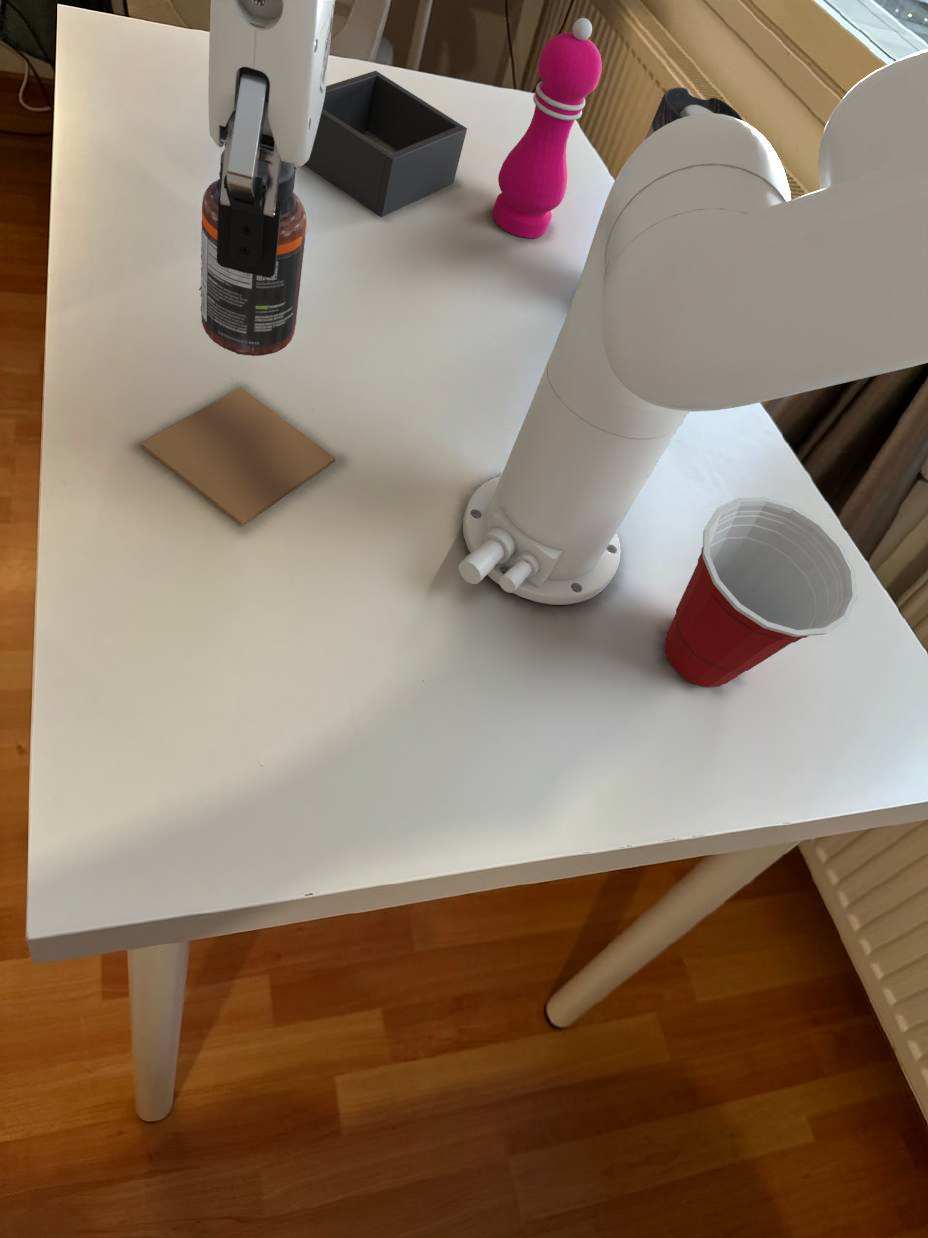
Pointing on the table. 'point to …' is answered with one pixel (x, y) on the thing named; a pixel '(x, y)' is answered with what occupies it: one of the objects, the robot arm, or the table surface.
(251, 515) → the coaster
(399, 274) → the table surface
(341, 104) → the bin
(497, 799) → the table surface
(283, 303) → the supplement bottle
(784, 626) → the plastic cup
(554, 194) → the pepper mill
